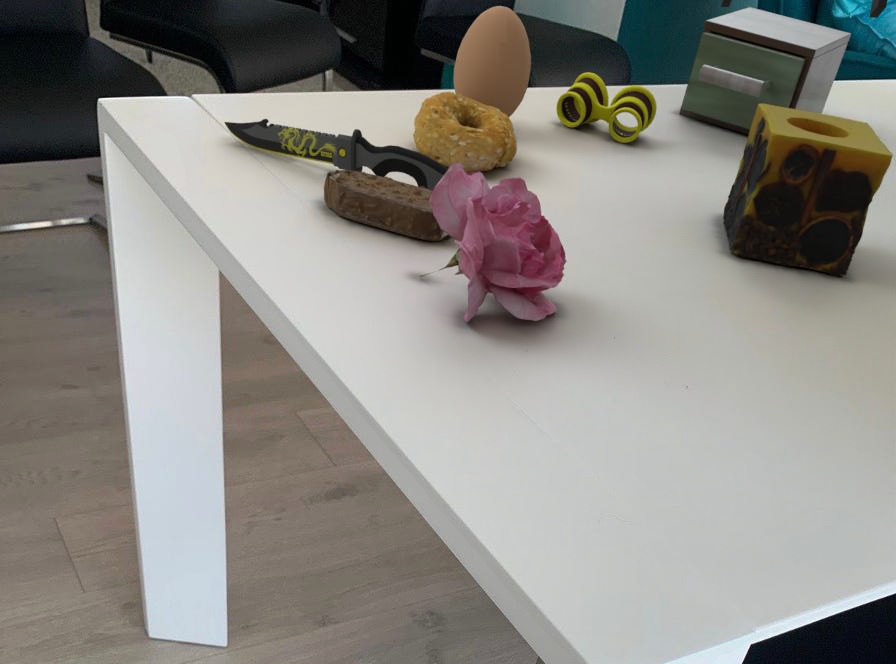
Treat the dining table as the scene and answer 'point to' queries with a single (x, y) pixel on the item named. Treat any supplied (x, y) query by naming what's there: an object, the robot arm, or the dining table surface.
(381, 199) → the ice cream bar
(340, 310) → the dining table surface
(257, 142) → the knife
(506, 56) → the egg
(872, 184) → the candle
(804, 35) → the cabinet
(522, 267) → the flower
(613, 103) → the opera glasses
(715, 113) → the drawer
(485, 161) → the bagel
